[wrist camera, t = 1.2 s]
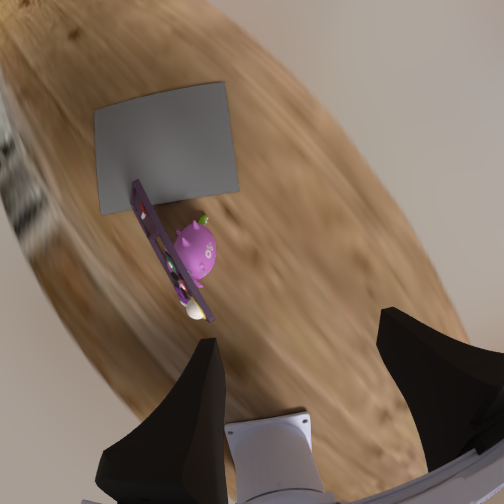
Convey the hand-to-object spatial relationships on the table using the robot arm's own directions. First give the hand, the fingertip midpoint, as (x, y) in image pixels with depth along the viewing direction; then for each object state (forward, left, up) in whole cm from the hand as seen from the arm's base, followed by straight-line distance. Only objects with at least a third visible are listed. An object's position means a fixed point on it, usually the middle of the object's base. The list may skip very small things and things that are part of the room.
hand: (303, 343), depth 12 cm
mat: (+12, +7, -11) cm, 17 cm away
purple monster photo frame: (+4, +6, -11) cm, 13 cm away
